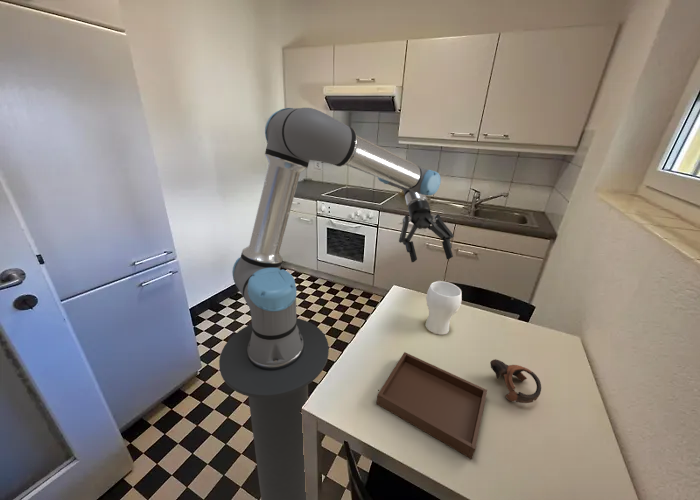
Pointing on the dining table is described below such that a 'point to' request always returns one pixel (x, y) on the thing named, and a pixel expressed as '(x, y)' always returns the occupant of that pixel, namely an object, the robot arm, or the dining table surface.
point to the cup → (442, 306)
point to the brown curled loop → (507, 372)
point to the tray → (435, 402)
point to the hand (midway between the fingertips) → (432, 259)
